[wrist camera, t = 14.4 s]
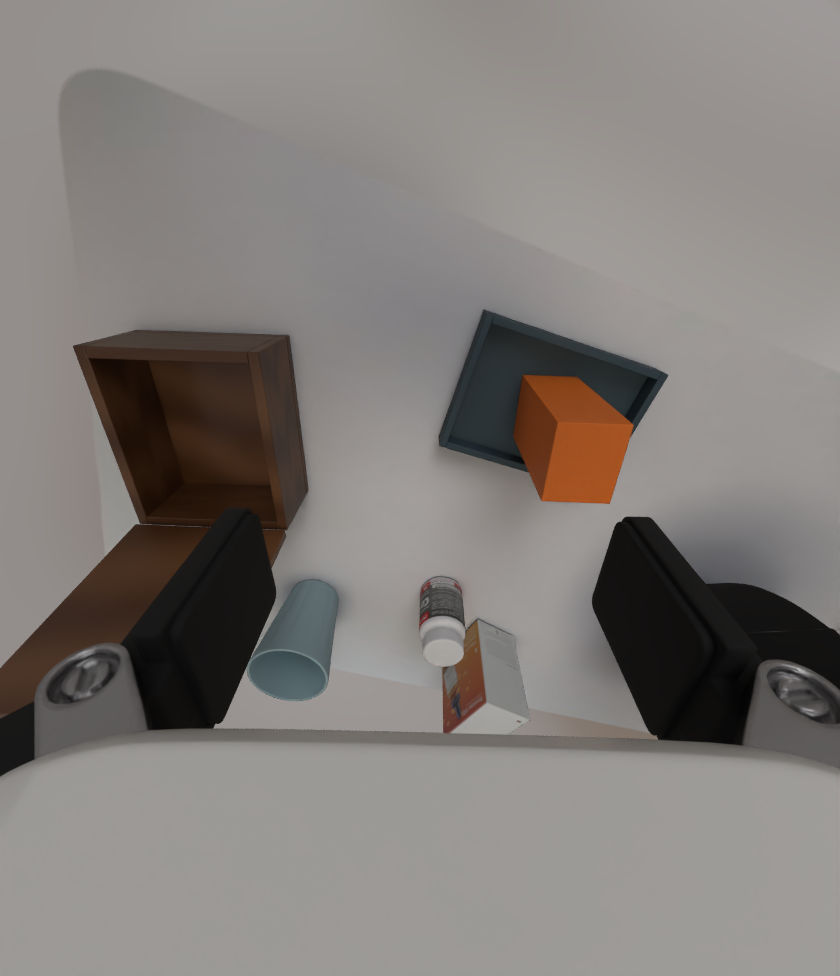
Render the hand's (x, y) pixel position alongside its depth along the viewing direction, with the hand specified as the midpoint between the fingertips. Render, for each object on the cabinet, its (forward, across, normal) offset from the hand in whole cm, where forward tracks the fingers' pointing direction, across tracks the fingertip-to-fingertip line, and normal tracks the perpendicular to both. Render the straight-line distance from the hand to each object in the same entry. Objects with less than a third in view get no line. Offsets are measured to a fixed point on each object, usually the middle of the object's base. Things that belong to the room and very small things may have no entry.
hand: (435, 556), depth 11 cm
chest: (+26, +18, +6) cm, 32 cm away
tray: (+26, -10, +5) cm, 28 cm away
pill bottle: (+26, -2, +27) cm, 37 cm away
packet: (+25, -10, +5) cm, 28 cm away
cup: (+26, +13, +28) cm, 40 cm away
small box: (+26, -7, +36) cm, 44 cm away
